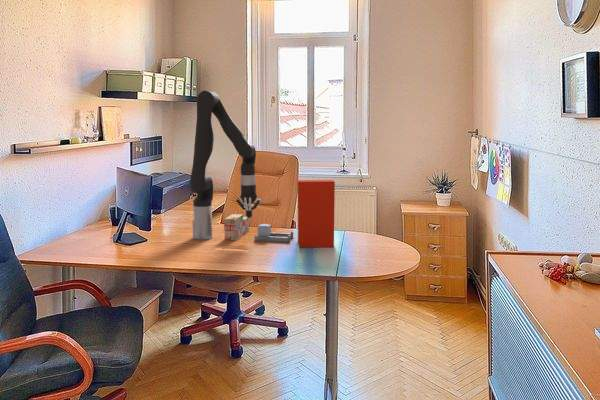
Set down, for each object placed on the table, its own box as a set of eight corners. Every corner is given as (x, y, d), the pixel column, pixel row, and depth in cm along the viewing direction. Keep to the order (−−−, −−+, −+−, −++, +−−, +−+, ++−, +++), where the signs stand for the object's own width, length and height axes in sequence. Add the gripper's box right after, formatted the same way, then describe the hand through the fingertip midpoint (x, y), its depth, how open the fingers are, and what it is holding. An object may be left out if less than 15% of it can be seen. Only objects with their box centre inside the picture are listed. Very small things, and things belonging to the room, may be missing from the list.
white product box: (238, 232, 266) (237, 210, 264) (249, 233, 265) (248, 211, 263) (224, 242, 245) (223, 218, 243) (236, 242, 244) (235, 218, 242)
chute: (254, 243, 243) (254, 234, 243) (259, 238, 252) (259, 230, 252) (289, 244, 240) (289, 235, 240) (293, 240, 249) (293, 231, 249)
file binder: (297, 243, 243) (297, 179, 237) (331, 243, 243) (332, 179, 238) (298, 247, 235) (298, 181, 229) (333, 247, 236) (334, 181, 230)
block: (257, 240, 245) (257, 225, 244) (260, 237, 250) (260, 223, 249) (268, 240, 244) (268, 226, 243) (271, 238, 249) (270, 224, 248)
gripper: (233, 184, 241) (234, 218, 244) (259, 184, 239) (260, 219, 242) (237, 182, 249) (238, 216, 251) (262, 182, 246) (263, 216, 249)
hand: (249, 217), depth 246 cm, fingers closed
